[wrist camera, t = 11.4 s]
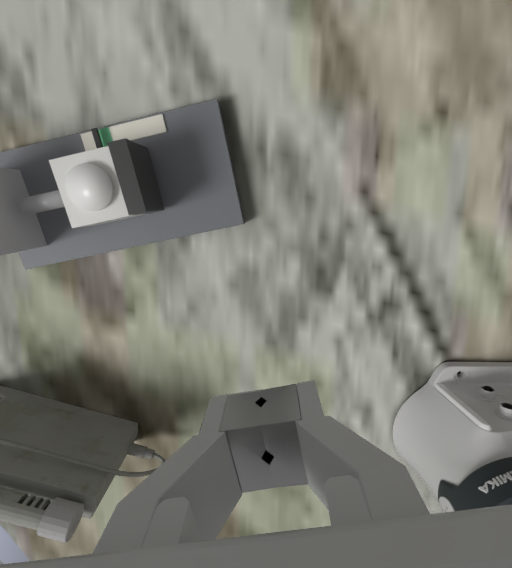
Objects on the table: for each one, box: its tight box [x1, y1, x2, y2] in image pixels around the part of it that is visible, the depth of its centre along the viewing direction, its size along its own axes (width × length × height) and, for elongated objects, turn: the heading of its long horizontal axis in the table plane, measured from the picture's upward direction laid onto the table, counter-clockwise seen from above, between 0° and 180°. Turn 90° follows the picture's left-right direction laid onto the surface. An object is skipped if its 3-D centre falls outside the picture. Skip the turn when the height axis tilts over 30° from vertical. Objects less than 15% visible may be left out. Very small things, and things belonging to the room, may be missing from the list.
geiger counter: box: [0, 385, 166, 543], centre depth 35 cm, size 14×6×25 cm
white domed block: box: [19, 128, 165, 228], centre depth 29 cm, size 13×9×5 cm
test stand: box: [0, 99, 245, 269], centre depth 30 cm, size 25×12×10 cm, turn 102°
